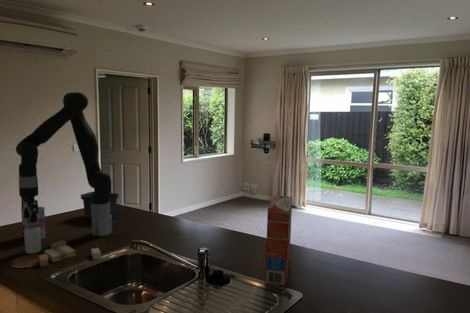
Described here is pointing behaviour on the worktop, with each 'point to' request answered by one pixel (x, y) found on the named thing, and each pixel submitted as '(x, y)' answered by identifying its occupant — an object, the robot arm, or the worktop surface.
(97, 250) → the brick cream
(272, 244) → the pasta box
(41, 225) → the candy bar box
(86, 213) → the storage bin
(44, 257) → the brick terracotta
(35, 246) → the can
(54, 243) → the brick sage
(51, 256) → the oak pad
